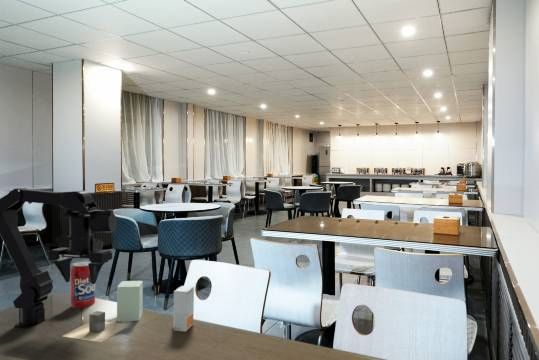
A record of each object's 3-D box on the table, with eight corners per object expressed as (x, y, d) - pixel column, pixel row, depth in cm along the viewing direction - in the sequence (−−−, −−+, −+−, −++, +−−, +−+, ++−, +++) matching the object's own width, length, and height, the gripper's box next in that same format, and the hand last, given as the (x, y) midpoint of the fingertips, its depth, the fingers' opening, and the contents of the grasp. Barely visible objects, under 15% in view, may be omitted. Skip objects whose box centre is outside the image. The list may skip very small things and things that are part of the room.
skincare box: (186, 332, 120) (186, 292, 120) (172, 330, 121) (173, 291, 121) (194, 324, 126) (194, 286, 126) (181, 323, 127) (181, 285, 127)
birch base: (61, 339, 114) (61, 318, 113) (93, 323, 126) (93, 303, 126) (101, 345, 110) (101, 324, 110) (130, 328, 123) (130, 308, 122)
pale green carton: (116, 322, 125) (117, 287, 125) (121, 314, 132) (121, 281, 131) (139, 321, 126) (139, 286, 126) (142, 314, 133) (142, 280, 132)
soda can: (80, 301, 146) (80, 260, 146) (99, 303, 144) (99, 261, 144) (65, 309, 138) (65, 265, 138) (85, 310, 137) (85, 266, 136)
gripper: (122, 229, 129) (123, 278, 129) (72, 227, 133) (73, 274, 134) (100, 234, 118) (100, 288, 119) (46, 232, 123) (47, 283, 123)
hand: (80, 283), depth 124 cm, fingers open, 9 cm apart
